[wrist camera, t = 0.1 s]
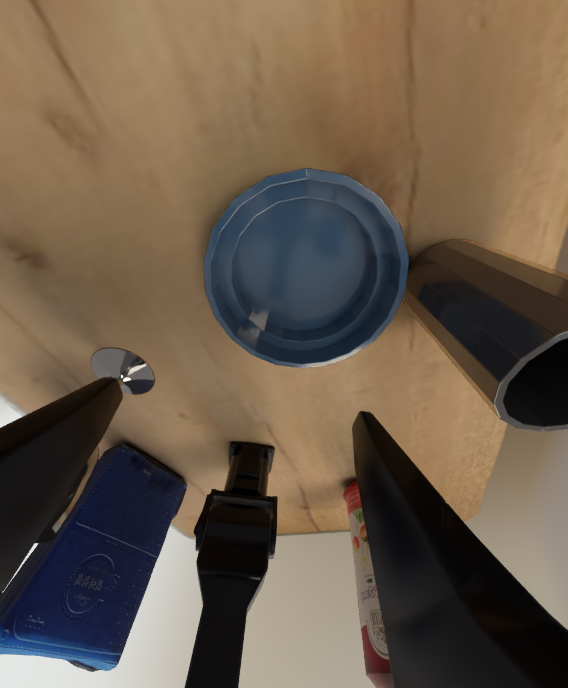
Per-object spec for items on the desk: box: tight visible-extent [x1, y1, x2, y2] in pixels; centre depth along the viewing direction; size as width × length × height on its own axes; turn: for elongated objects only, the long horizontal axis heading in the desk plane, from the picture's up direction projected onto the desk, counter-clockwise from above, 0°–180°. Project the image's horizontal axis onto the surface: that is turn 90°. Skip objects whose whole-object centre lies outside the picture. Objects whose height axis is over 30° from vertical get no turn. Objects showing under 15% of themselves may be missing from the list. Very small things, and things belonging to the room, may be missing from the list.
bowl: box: [204, 168, 409, 368], centre depth 19 cm, size 14×14×4 cm
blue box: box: [0, 444, 187, 672], centre depth 32 cm, size 14×5×20 cm, turn 31°
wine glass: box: [35, 348, 155, 543], centre depth 22 cm, size 8×8×15 cm
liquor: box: [343, 481, 394, 688], centre depth 29 cm, size 7×7×28 cm
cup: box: [402, 239, 568, 432], centre depth 16 cm, size 7×7×12 cm
